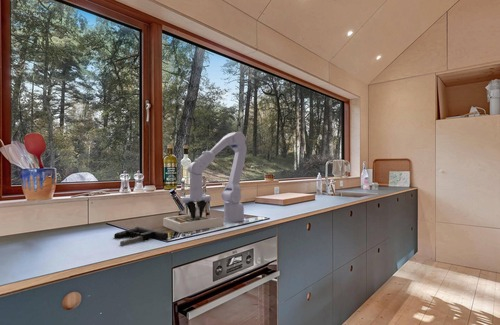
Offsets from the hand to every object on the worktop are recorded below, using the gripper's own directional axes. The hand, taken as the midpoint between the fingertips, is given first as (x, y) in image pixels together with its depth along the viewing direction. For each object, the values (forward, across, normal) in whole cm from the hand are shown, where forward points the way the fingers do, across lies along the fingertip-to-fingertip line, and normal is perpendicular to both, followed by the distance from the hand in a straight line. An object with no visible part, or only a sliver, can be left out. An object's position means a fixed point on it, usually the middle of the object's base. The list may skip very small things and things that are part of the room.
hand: (196, 217), depth 132 cm
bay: (+4, -2, 0) cm, 4 cm away
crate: (+3, -1, 0) cm, 4 cm away
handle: (+2, 0, 0) cm, 2 cm away
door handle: (+4, -29, -6) cm, 30 cm away
